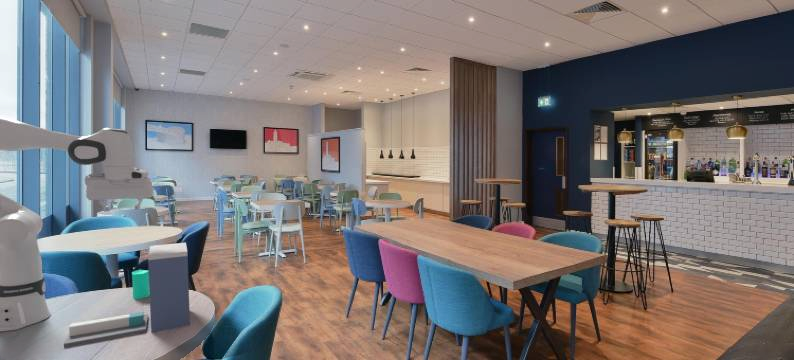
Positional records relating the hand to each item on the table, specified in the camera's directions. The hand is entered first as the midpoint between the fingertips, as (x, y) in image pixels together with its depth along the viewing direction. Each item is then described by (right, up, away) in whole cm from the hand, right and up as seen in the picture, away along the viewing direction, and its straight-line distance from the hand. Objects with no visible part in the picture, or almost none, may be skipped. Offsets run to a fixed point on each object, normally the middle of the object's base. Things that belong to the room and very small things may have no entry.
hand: (122, 210), depth 148 cm
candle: (-6, -38, +21) cm, 43 cm away
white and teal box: (+4, -38, -13) cm, 41 cm away
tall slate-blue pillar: (+20, -39, -4) cm, 44 cm away
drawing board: (+4, -40, -13) cm, 42 cm away
